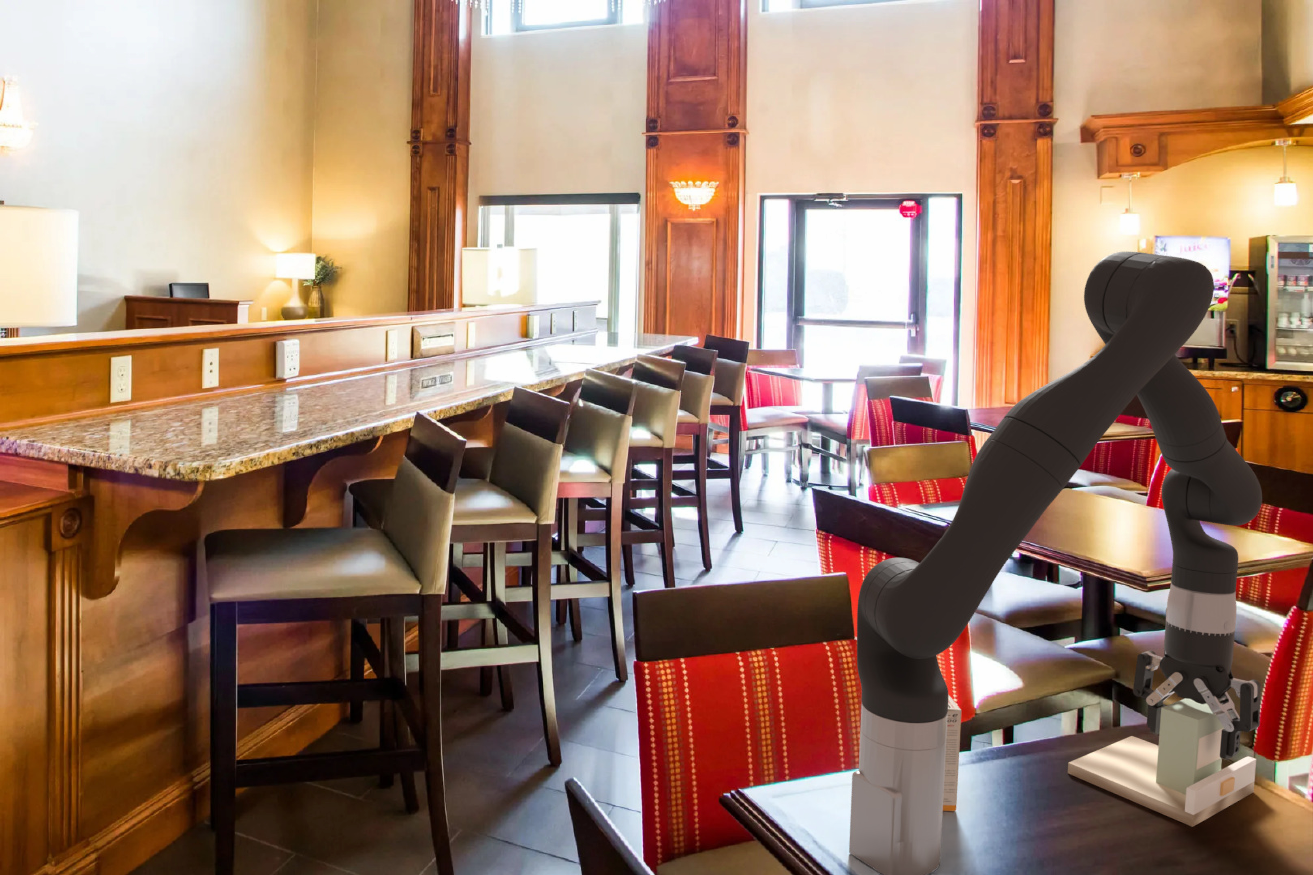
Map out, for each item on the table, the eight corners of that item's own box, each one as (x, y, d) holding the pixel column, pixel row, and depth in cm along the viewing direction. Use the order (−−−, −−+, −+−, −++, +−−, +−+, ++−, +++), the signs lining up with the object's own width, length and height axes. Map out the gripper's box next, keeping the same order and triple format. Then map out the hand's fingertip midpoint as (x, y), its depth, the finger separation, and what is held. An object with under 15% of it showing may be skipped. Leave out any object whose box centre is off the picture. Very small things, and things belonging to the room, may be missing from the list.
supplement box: (958, 812, 109) (963, 710, 108) (919, 811, 109) (924, 708, 108) (938, 780, 117) (943, 684, 116) (901, 779, 117) (906, 683, 116)
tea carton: (1220, 783, 115) (1226, 708, 114) (1192, 797, 111) (1199, 720, 110) (1183, 768, 118) (1188, 696, 117) (1155, 782, 115) (1161, 707, 114)
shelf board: (1195, 827, 106) (1198, 792, 106) (1067, 773, 120) (1069, 741, 119) (1256, 793, 115) (1258, 759, 115) (1131, 745, 129) (1133, 715, 128)
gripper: (1276, 632, 109) (1265, 759, 110) (1158, 603, 121) (1149, 718, 122) (1248, 642, 105) (1237, 774, 106) (1128, 612, 116) (1120, 731, 118)
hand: (1190, 744), depth 114 cm, fingers open, 8 cm apart
